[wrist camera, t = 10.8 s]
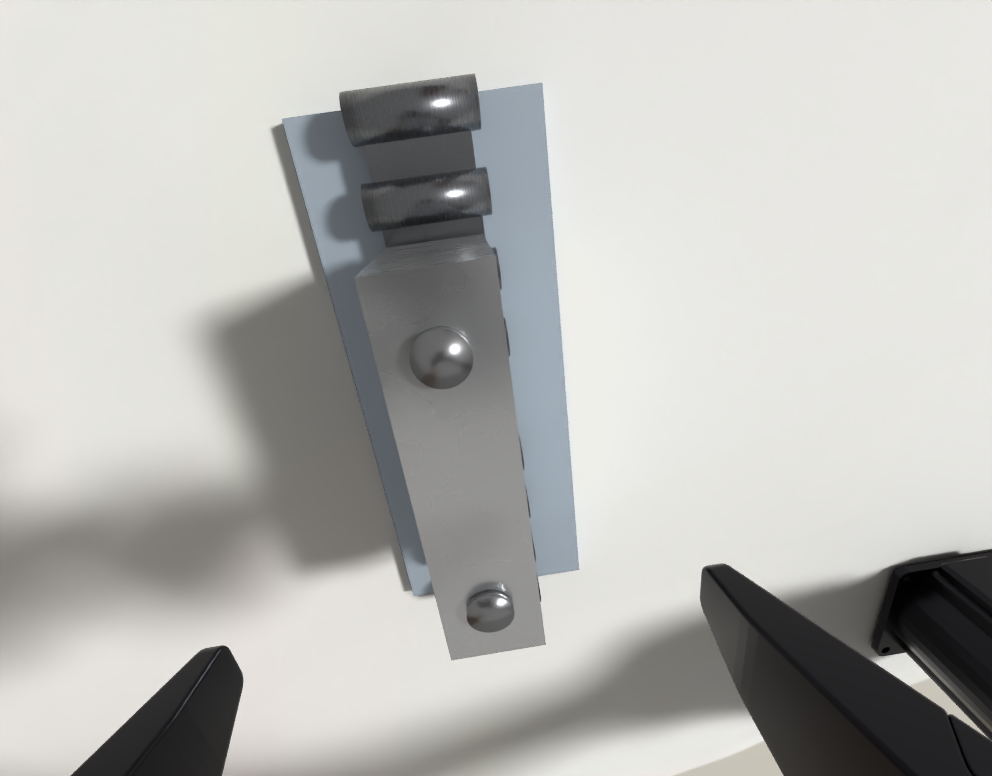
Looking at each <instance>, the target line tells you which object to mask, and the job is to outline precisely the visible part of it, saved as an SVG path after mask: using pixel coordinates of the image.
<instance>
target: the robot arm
mask: <svg viewBox="0 0 992 776" xmlns="http://www.w3.org/2000/svg"><path fill="white" fill-rule="evenodd" d="M700 601H701V606H702V609H703V612H704V614H705V616H706V619H707V621H708V623H709V625H710V628H711V630H712V632H713V635H714V637H715V639H716V642H717V644H718V646H719V649H720V651H721V653H722V656H723V658H724V660H725V663H726V665H727V667H728V670H729V672H730V674H731V677H732V679H733V681H734V683H735V685H736V688H737V690H738V692H739V694H740V696H741V698H742V700H743V702H744V704H745V706H746V708H747V710H748V711H749V713H750V715H751V717H752V719H753V721H754V722H755V724H756V726H757V728H758V730H759V731H760V733H761V735H762V737H763V739H764V741H765V742H766V744H767V746H768V748H769V750H770V751H771V753H772V755H773V757H774V759H775V761H776V762H777V764H778V766H779V768H780V770H781V772H782V773H783V775H784V776H992V552H989V553H982V554H976V555H970V556H964V557H958V558H952V559H946V560H940V561H934V562H927V563H921V564H915V565H909V566H903V567H900V568H898V569H896V570H895V571H894V572H893V574H892V577H891V581H890V584H889V587H888V591H887V594H886V598H885V601H884V605H883V608H882V611H881V615H880V618H879V622H878V625H877V628H876V632H875V635H874V639H873V642H872V649H873V650H874V651H875V652H876V653H877V654H878V655H879V656H887V655H893V654H899V653H905V652H906V653H907V654H908V655H909V656H910V657H911V658H912V659H913V660H914V661H915V662H916V663H917V664H918V665H919V666H920V667H921V668H922V670H923V671H924V672H925V673H926V674H927V675H928V676H929V677H930V678H931V679H932V680H933V681H934V682H935V683H936V684H937V685H938V686H939V687H940V688H941V689H942V690H943V691H944V692H945V693H946V694H947V695H948V696H949V697H950V699H951V700H952V701H953V702H954V703H955V704H956V705H957V706H958V707H959V708H960V709H961V710H962V711H963V712H964V713H965V714H966V715H967V716H968V717H969V718H970V719H971V720H972V721H973V722H974V723H975V724H976V725H977V727H978V728H979V729H980V730H981V731H982V732H983V733H984V734H985V735H986V736H987V737H988V738H987V737H985V736H984V735H982V734H981V733H979V732H978V731H976V730H975V729H973V728H972V727H970V726H969V725H967V724H966V723H964V722H963V721H961V720H960V719H958V718H957V717H955V716H954V715H951V714H949V715H948V714H947V713H946V711H945V710H944V709H943V708H941V707H940V706H938V705H937V704H936V703H934V702H932V701H931V700H930V699H928V698H927V697H925V696H924V695H922V694H921V693H919V692H917V691H916V690H915V689H913V688H912V687H910V686H909V685H907V684H906V683H904V682H903V681H901V680H900V679H898V678H897V677H895V676H894V675H892V674H891V673H889V672H888V671H886V670H885V669H883V668H882V667H880V666H879V665H877V664H876V663H874V662H873V661H871V660H870V659H868V658H867V657H865V656H864V655H862V654H861V653H859V652H858V651H856V650H855V649H853V648H852V647H850V646H849V645H847V644H846V643H844V642H843V641H841V640H840V639H838V638H837V637H835V636H834V635H832V634H831V633H829V632H828V631H826V630H825V629H823V628H822V627H820V626H819V625H817V624H816V623H814V622H813V621H811V620H810V619H808V618H807V617H805V616H804V615H802V614H801V613H799V612H798V611H796V610H795V609H793V608H792V607H790V606H789V605H787V604H786V603H784V602H783V601H781V600H780V599H778V598H777V597H775V596H774V595H772V594H771V593H769V592H768V591H766V590H765V589H763V588H762V587H760V586H759V585H757V584H756V583H754V582H753V581H751V580H750V579H748V578H747V577H745V576H744V575H742V574H741V573H739V572H738V571H736V570H735V569H733V568H732V567H730V566H729V565H726V564H715V565H709V566H705V567H704V568H703V569H702V575H701V590H700ZM242 688H243V675H242V671H241V670H240V668H239V666H238V664H237V662H236V660H235V658H234V656H233V655H232V653H231V651H230V649H229V648H228V647H226V646H216V647H210V648H205V649H203V650H201V651H199V652H198V653H197V654H196V655H195V656H194V657H193V658H192V659H191V660H190V661H189V662H188V663H187V664H186V665H185V666H184V667H182V668H181V669H180V670H179V671H178V672H177V673H176V674H175V675H174V676H173V677H172V678H171V679H170V680H169V681H168V682H167V683H166V684H165V685H164V686H163V687H162V688H161V689H160V690H159V691H158V692H157V693H156V694H155V695H154V696H153V697H151V698H150V699H149V700H148V701H147V702H146V703H145V704H144V705H143V706H142V707H141V708H140V709H139V710H138V711H137V712H136V713H135V714H134V715H133V716H132V717H131V718H130V719H129V720H128V721H127V722H126V723H125V724H124V725H123V726H121V727H120V728H119V729H118V730H117V731H116V732H115V733H114V734H113V735H112V736H111V737H110V738H109V739H108V740H107V741H106V742H105V743H104V744H103V745H102V746H101V747H100V748H99V749H98V750H97V751H96V752H95V753H94V754H93V755H92V756H90V757H89V758H88V759H87V760H86V761H85V762H84V763H83V764H82V765H81V766H80V767H79V768H78V769H77V770H76V771H75V772H74V773H73V774H72V775H71V776H222V773H223V769H224V765H225V761H226V756H227V752H228V748H229V744H230V739H231V735H232V731H233V727H234V722H235V718H236V714H237V710H238V705H239V701H240V697H241V693H242Z"/></svg>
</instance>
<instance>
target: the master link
mask: <svg viewBox="0 0 992 776" xmlns="http://www.w3.org/2000/svg"><path fill="white" fill-rule="evenodd" d="M354 280H355V284H356V288H357V292H358V296H359V300H360V304H361V308H362V312H363V315H364V319H365V323H366V327H367V331H368V335H369V339H370V343H371V347H372V351H373V355H374V359H375V363H376V366H377V370H378V374H379V378H380V382H381V386H382V390H383V394H384V398H385V402H386V406H387V410H388V414H389V417H390V421H391V425H392V429H393V433H394V437H395V441H396V445H397V449H398V453H399V457H400V461H401V464H402V468H403V472H404V476H405V480H406V484H407V488H408V492H409V496H410V500H411V504H412V508H413V512H414V515H415V519H416V523H417V527H418V531H419V535H420V539H421V543H422V547H423V551H424V555H425V559H426V563H427V566H428V570H429V574H430V578H431V582H432V586H433V590H434V594H435V598H436V602H437V606H438V610H439V614H440V617H441V621H442V625H443V629H444V633H445V637H446V641H447V645H448V649H449V653H450V657H451V660H456V659H462V658H468V657H474V656H480V655H486V654H492V653H498V652H504V651H510V650H516V649H522V648H528V647H534V646H540V645H546V643H545V635H544V628H543V620H542V612H541V604H540V597H539V589H538V581H537V573H536V566H535V558H534V550H533V542H532V534H531V527H530V519H529V511H528V503H527V496H526V488H525V480H524V472H523V465H522V457H521V449H520V441H519V434H518V426H517V418H516V410H515V403H514V395H513V387H512V379H511V372H510V364H509V356H508V348H507V340H506V333H505V325H504V317H503V309H502V302H501V294H500V286H499V278H498V271H497V263H496V256H495V254H494V253H493V251H492V249H491V247H490V246H489V244H488V242H487V240H486V239H485V237H484V235H483V234H477V235H471V236H464V237H457V238H450V239H443V240H437V241H430V242H423V243H416V244H409V245H403V246H396V247H389V248H386V249H384V250H383V251H382V252H381V253H380V254H379V255H378V256H377V257H376V258H375V259H373V260H372V261H371V262H370V263H369V264H368V265H367V266H366V267H365V268H364V269H362V270H361V271H360V272H359V273H358V274H357V275H356V276H355V277H354Z"/></svg>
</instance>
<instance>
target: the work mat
mask: <svg viewBox="0 0 992 776" xmlns="http://www.w3.org/2000/svg"><path fill="white" fill-rule="evenodd" d="M478 96H479V105H480V115H481V130H475V131H471V133H472V141H473V148H474V156H475V163H476V168H479V167H486V168H487V173H488V178H489V185H490V193H491V202H492V215H487V216H483V223H484V231H485V238H486V240H487V242H488V244H489V246H490V247H491V248H492V247H496V249H497V254H498V259H499V266H500V273H501V283H502V290H500V294H501V302H502V309H503V317H504V318H505V321H506V326H507V331H508V338H509V346H510V357H509V364H510V372H511V379H512V387H513V395H514V403H515V410H516V418H517V426H518V434H519V436H520V441H521V446H522V452H523V458H524V467H525V470H523V472H524V480H525V485H526V490H527V495H528V501H529V507H530V515H531V518H529V519H530V527H531V532H532V537H533V542H534V548H535V555H536V562H535V566H536V572H537V576H543V575H549V574H555V573H561V572H567V571H574V570H579V563H578V550H577V536H576V523H575V510H574V497H573V483H572V470H571V457H570V444H569V431H568V417H567V404H566V391H565V378H564V364H563V351H562V338H561V325H560V311H559V298H558V285H557V272H556V259H555V245H554V232H553V219H552V206H551V192H550V179H549V166H548V153H547V139H546V126H545V113H544V100H543V87H542V83H537V84H530V85H522V86H515V87H508V88H501V89H494V90H486V91H479V92H478ZM282 122H283V125H284V129H285V133H286V136H287V140H288V143H289V147H290V151H291V154H292V158H293V161H294V165H295V169H296V172H297V176H298V179H299V183H300V187H301V190H302V194H303V197H304V201H305V205H306V208H307V212H308V216H309V219H310V223H311V226H312V230H313V234H314V237H315V241H316V244H317V248H318V252H319V255H320V259H321V262H322V266H323V270H324V273H325V277H326V280H327V284H328V288H329V291H330V295H331V298H332V302H333V306H334V309H335V313H336V316H337V320H338V324H339V327H340V331H341V335H342V338H343V342H344V345H345V349H346V353H347V356H348V360H349V363H350V367H351V371H352V374H353V378H354V381H355V385H356V389H357V392H358V396H359V399H360V403H361V407H362V410H363V414H364V417H365V421H366V425H367V428H368V432H369V436H370V439H371V443H372V446H373V450H374V454H375V457H376V461H377V464H378V468H379V472H380V475H381V479H382V482H383V486H384V490H385V493H386V497H387V500H388V504H389V508H390V511H391V515H392V518H393V522H394V526H395V529H396V533H397V537H398V540H399V544H400V547H401V551H402V555H403V558H404V562H405V565H406V569H407V573H408V576H409V580H410V583H411V587H412V591H413V594H414V596H419V595H425V594H431V593H434V590H433V586H432V582H431V578H430V574H429V570H428V566H427V563H426V559H425V555H424V551H423V547H422V543H421V539H420V535H419V531H418V527H417V523H416V519H415V515H414V512H413V508H412V504H411V500H410V496H409V492H408V488H407V484H406V480H405V476H404V472H403V468H402V464H401V461H400V457H399V453H398V449H397V445H396V441H395V437H394V433H393V429H392V425H391V421H390V417H389V414H388V410H387V406H386V402H385V398H384V394H383V390H382V386H381V382H380V378H379V374H378V370H377V366H376V363H375V359H374V355H373V351H372V347H371V343H370V339H369V335H368V331H367V327H366V323H365V319H364V315H363V312H362V308H361V304H360V300H359V296H358V292H357V288H356V284H355V280H354V277H355V276H356V275H357V274H358V273H359V272H360V271H361V270H362V269H364V268H365V267H366V266H367V265H368V264H369V263H370V262H371V261H372V260H373V259H375V258H376V257H377V256H378V255H379V254H380V253H381V252H382V251H383V250H384V249H386V246H385V242H384V237H383V233H382V231H376V232H372V231H371V230H370V228H369V225H368V223H367V220H366V216H365V213H364V208H363V203H362V197H361V185H362V184H366V183H371V178H370V173H369V169H368V164H367V160H366V155H365V151H364V146H361V147H353V146H352V144H351V142H350V140H349V138H348V135H347V132H346V129H345V125H344V121H343V117H342V113H341V111H334V112H327V113H320V114H313V115H305V116H298V117H291V118H284V119H282Z"/></svg>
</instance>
